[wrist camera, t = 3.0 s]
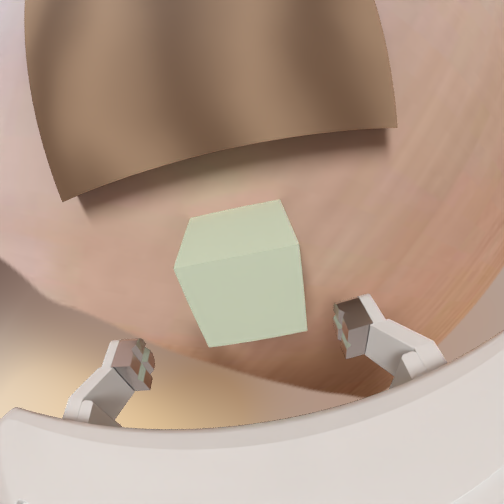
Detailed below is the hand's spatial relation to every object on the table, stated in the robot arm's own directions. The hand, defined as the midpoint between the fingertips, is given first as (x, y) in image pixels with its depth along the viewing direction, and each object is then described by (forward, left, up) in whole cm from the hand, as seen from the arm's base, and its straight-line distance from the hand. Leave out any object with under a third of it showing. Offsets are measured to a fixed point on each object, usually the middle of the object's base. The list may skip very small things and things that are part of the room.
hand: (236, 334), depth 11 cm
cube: (-1, 0, -6) cm, 6 cm away
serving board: (-1, -13, -6) cm, 15 cm away
